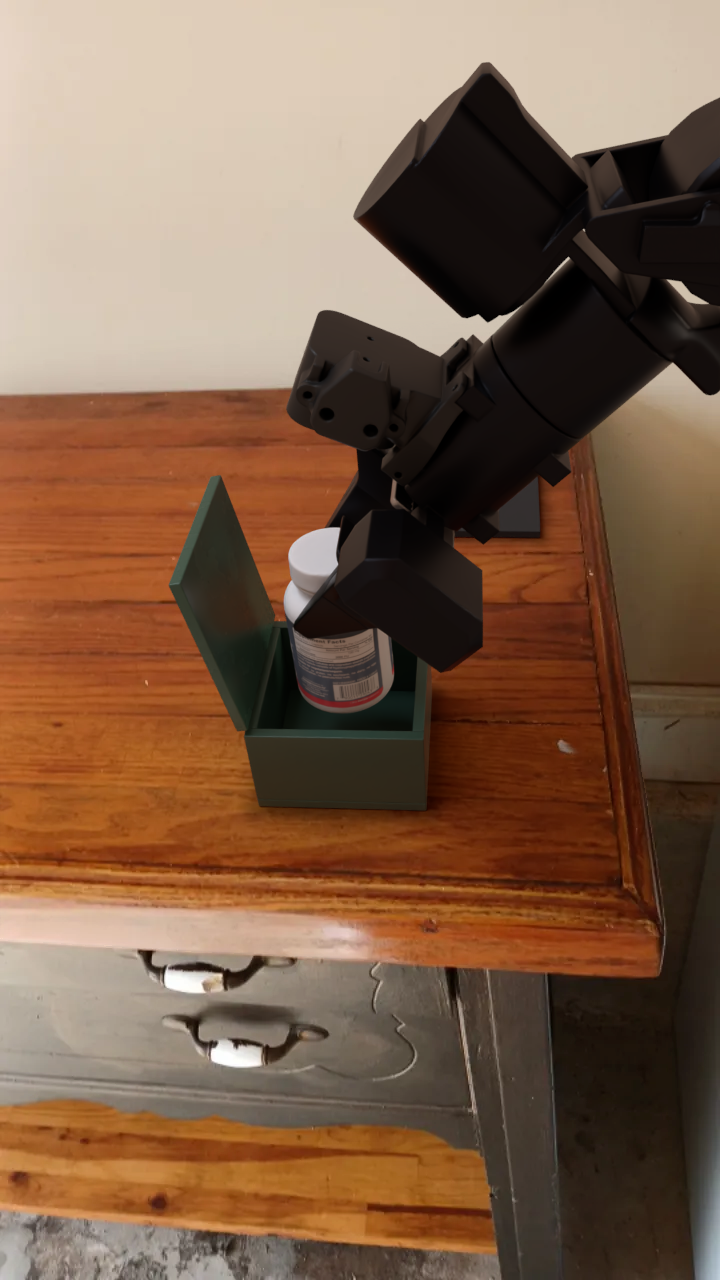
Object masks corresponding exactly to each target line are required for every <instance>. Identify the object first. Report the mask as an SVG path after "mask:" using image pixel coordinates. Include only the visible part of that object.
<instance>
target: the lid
mask: <svg viewBox="0 0 720 1280" xmlns="http://www.w3.org/2000/svg"><path fill="white" fill-rule="evenodd" d="M168 588H169V589H170V592H171V594H172V596H173V598H174V600H175V603H176V605H177V606H178V607H177V608H178V609H179V612H180V613H181V615H182V618H183V619H184V621H185V624H186V626H187V629H188V630H189V632H190V635H191V637H192V639H193V641H194V643H195V645H196V647H197V649H198V651H199V654H200V655H201V658H202V660H203V662H204V665H205V666H206V668H207V670H208V673H209V675H210V677H211V679H212V682H213V683H214V686H215V687H216V690H217V692H218V694H219V696H220V698H221V700H222V703H223V705H224V707H225V710H226V711H227V713H228V715H229V717H230V720H231V722H232V724H233V726H234V728H235V730H236V732H245V731H247V730H248V726H249V722H250V718H251V714H252V710H253V705H254V701H255V697H256V693H257V689H258V685H259V681H260V677H261V673H262V668H263V664H264V660H265V656H266V652H267V648H268V644H269V640H270V636H271V632H272V627H273V623H274V621H275V619H276V614H275V611H274V608H273V605H272V603H271V600H270V597H269V595H268V593H267V590H266V587H265V585H264V583H263V580H262V577H261V575H260V572H259V569H258V567H257V564H256V562H255V560H254V556H253V554H252V551H251V549H250V546H249V544H248V541H247V539H246V536H245V533H244V531H243V528H242V525H241V524H240V521H239V519H238V515H237V514H236V510H235V507H234V505H233V503H232V500H231V497H230V495H229V492H228V490H227V487H226V485H225V482H224V480H223V477H222V475H221V474H219V475H212V476H210V477H209V480H208V483H207V485H206V488H205V490H204V492H203V495H202V498H201V500H200V503H199V505H198V508H197V510H196V513H195V516H194V518H193V521H192V524H191V526H190V529H189V531H188V533H187V536H186V539H185V542H184V544H183V547H182V549H181V551H180V553H179V556H178V560H177V562H176V565H175V567H174V569H173V572H172V574H171V577H170V580H169V582H168Z"/></svg>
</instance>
